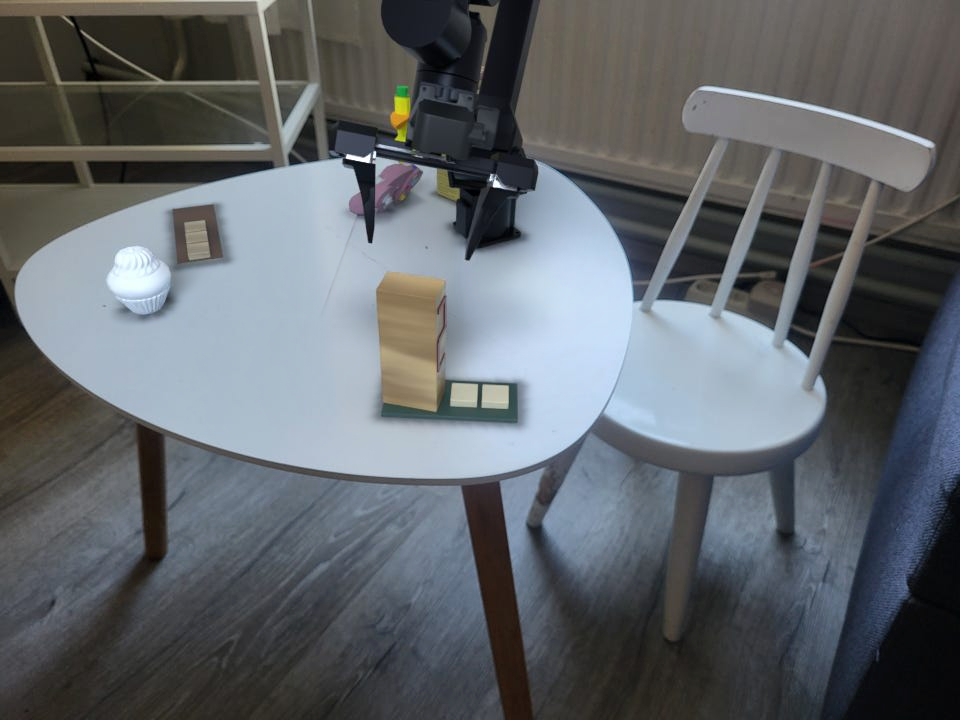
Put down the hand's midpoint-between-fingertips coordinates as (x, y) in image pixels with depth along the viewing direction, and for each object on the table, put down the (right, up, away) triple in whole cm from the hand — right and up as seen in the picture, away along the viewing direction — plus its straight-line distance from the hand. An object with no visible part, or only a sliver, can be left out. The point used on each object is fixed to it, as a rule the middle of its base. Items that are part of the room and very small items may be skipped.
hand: (419, 251), depth 70 cm
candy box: (+4, +13, +33) cm, 36 cm away
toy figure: (-5, +16, +36) cm, 40 cm away
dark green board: (+3, -14, -2) cm, 14 cm away
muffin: (-29, -5, +8) cm, 31 cm away
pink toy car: (-6, +10, +28) cm, 31 cm away
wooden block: (0, -13, -2) cm, 14 cm away
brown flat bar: (-28, +5, +20) cm, 35 cm away
